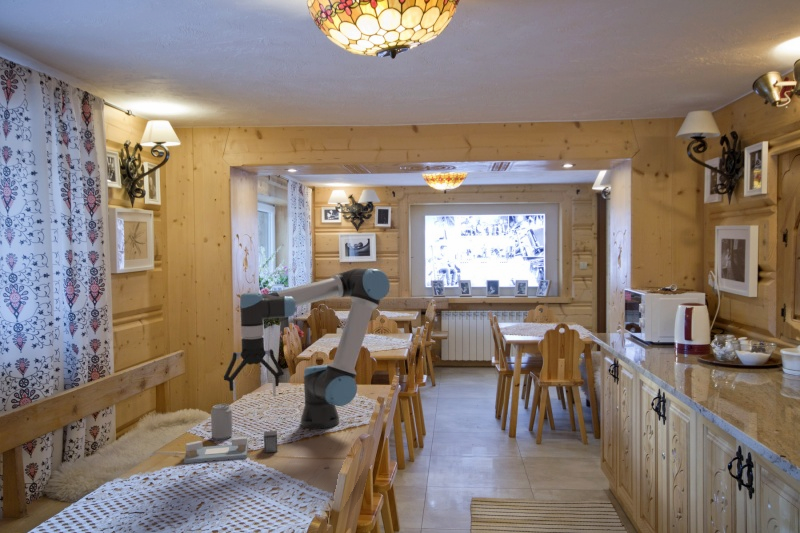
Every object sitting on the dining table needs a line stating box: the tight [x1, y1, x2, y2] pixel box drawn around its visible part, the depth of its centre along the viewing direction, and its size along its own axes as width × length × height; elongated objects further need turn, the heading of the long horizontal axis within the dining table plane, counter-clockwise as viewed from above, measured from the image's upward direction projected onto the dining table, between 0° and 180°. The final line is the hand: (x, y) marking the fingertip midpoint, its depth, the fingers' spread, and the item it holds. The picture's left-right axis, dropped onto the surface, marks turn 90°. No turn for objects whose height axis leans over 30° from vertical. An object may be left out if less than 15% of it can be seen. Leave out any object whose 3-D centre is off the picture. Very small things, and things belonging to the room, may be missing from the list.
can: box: [210, 403, 233, 441], centre depth 225 cm, size 8×8×12 cm
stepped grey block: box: [263, 430, 278, 454], centre depth 209 cm, size 7×4×6 cm
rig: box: [183, 436, 249, 465], centre depth 206 cm, size 20×12×5 cm, turn 102°
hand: (254, 397), depth 210 cm, fingers open, 13 cm apart
